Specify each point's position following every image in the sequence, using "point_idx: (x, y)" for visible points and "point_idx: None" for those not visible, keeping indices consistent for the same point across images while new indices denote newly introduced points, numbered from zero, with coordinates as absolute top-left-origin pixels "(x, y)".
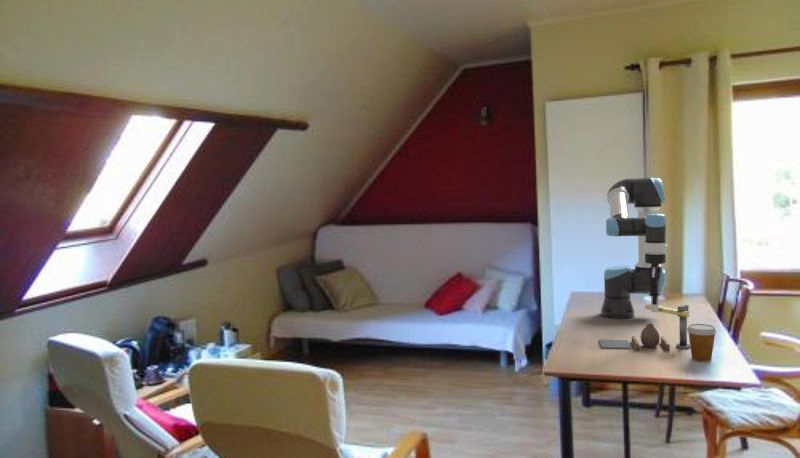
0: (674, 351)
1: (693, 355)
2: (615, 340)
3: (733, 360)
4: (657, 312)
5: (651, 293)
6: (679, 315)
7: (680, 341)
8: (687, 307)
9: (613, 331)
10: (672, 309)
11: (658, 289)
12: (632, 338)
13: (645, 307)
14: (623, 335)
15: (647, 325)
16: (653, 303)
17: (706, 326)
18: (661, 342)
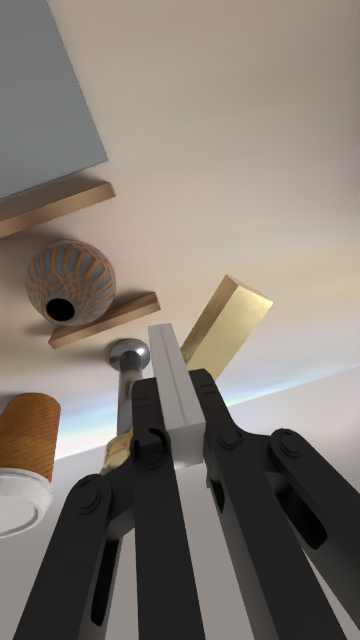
0: (67, 346)
1: (4, 410)
2: (62, 83)
3: (72, 447)
4: (151, 358)
5: (61, 521)
6: (106, 450)
7: (121, 362)
8: None
9: (283, 31)
10: None
11: (228, 545)
12: (81, 192)
13: (228, 281)
14: (213, 116)
15: (42, 300)
16: (133, 392)
17: (23, 515)
18: (144, 297)
